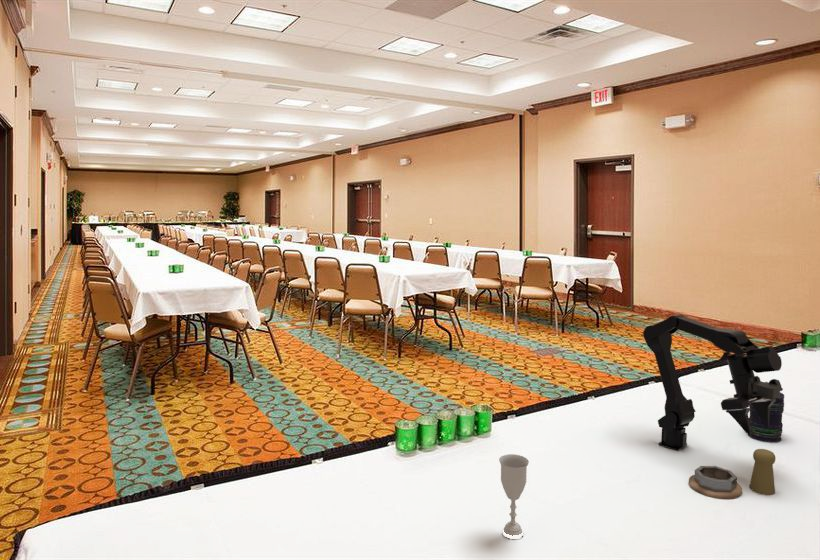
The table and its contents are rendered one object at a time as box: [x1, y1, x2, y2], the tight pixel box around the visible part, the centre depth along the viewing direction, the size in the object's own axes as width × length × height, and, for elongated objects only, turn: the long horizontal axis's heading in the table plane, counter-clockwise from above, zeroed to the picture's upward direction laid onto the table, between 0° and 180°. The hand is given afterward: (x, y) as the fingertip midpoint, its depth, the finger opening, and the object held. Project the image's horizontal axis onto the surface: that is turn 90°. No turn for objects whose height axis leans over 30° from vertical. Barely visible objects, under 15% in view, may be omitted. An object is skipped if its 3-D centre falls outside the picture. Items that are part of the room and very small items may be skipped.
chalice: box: [498, 453, 530, 536], centre depth 140 cm, size 7×7×18 cm
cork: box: [748, 448, 777, 496], centre depth 161 cm, size 6×6×11 cm
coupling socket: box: [688, 465, 743, 500], centre depth 163 cm, size 13×13×4 cm
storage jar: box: [747, 391, 785, 444], centre depth 197 cm, size 10×10×15 cm
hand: (757, 429), depth 168 cm, fingers open, 9 cm apart
